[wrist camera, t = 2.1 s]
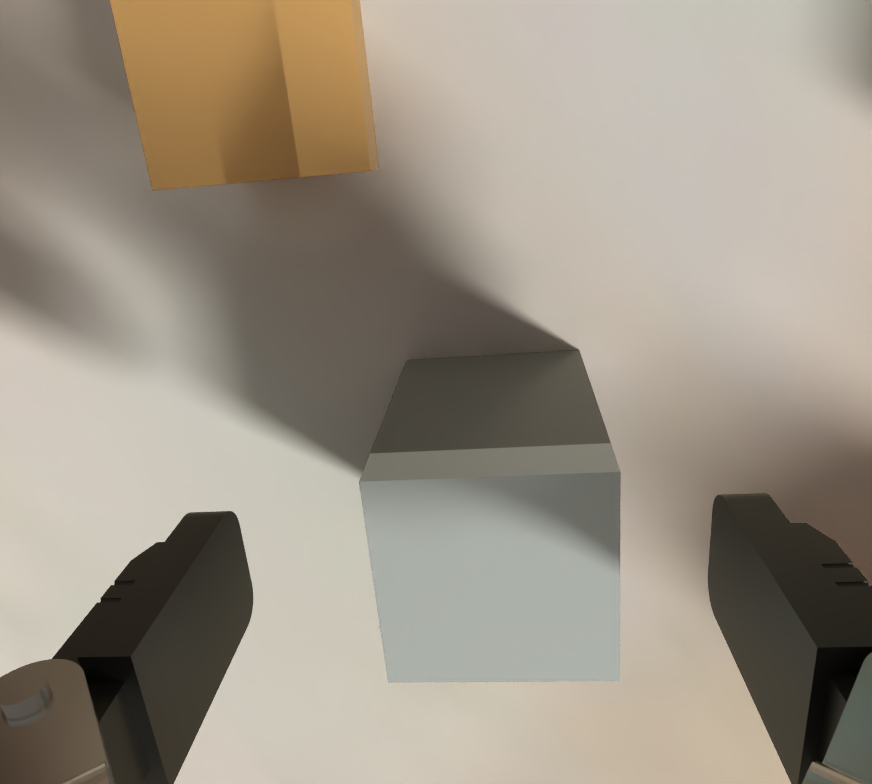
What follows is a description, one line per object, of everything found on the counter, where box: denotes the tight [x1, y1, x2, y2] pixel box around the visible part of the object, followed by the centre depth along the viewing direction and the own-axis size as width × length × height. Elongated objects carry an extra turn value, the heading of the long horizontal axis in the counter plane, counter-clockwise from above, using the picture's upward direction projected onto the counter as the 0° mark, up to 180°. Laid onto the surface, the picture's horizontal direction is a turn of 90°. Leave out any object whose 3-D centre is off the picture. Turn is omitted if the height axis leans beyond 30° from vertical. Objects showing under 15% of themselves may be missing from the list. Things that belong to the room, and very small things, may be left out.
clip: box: [110, 0, 379, 190], centre depth 13 cm, size 4×3×4 cm
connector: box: [359, 350, 620, 682], centre depth 14 cm, size 4×4×6 cm
